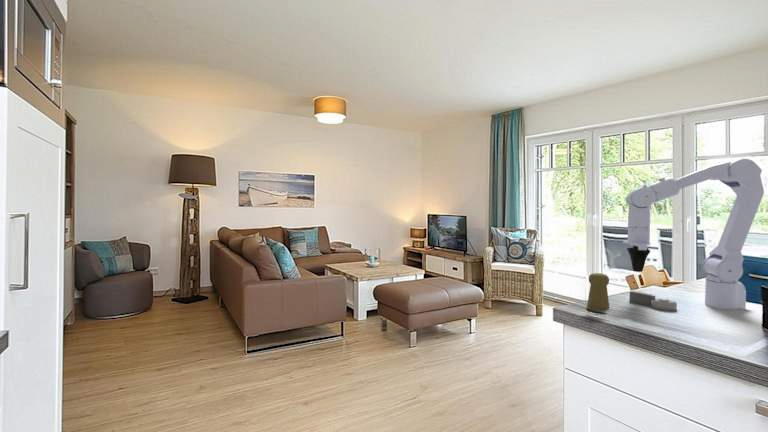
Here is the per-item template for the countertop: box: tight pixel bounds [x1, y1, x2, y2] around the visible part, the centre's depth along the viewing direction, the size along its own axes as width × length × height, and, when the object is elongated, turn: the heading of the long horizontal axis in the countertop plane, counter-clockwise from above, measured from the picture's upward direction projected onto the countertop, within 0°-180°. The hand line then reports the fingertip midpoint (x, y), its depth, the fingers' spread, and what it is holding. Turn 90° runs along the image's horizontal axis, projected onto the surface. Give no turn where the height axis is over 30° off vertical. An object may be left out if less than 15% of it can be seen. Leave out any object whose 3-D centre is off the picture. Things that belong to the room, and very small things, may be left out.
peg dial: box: [629, 289, 678, 312], centre depth 115 cm, size 12×6×3 cm, turn 30°
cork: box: [586, 272, 610, 315], centre depth 114 cm, size 6×6×11 cm
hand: (637, 271), depth 122 cm, fingers closed
